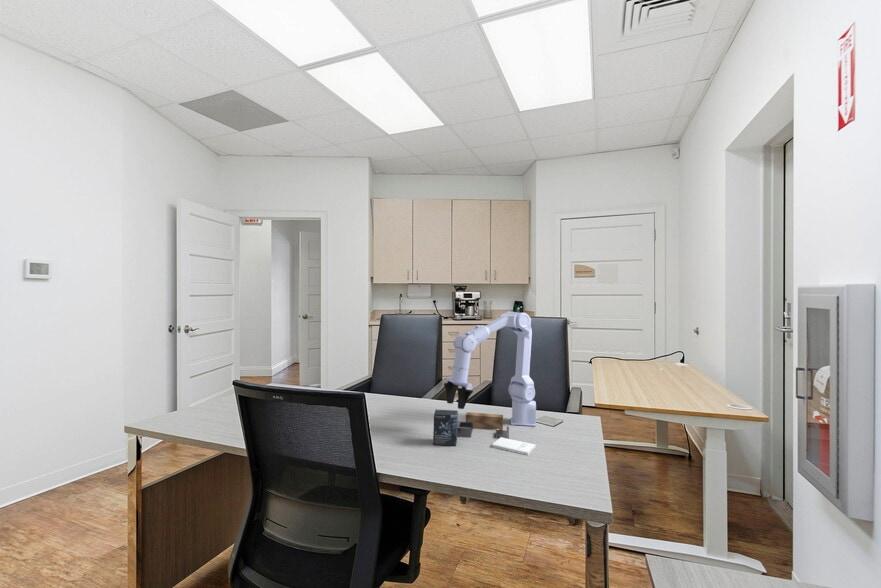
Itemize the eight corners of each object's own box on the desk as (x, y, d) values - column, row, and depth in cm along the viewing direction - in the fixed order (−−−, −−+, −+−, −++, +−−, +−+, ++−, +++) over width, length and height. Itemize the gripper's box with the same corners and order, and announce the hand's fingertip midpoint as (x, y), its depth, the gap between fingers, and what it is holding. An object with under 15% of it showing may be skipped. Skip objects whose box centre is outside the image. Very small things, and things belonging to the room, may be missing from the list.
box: (433, 445, 138) (433, 413, 138) (434, 439, 144) (435, 409, 144) (456, 446, 137) (457, 414, 137) (457, 440, 143) (457, 410, 143)
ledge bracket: (508, 433, 151) (508, 426, 151) (508, 439, 145) (508, 432, 145) (496, 432, 152) (496, 425, 152) (495, 438, 146) (495, 431, 146)
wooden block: (502, 427, 158) (503, 414, 158) (502, 430, 154) (502, 417, 154) (466, 425, 160) (466, 412, 160) (465, 427, 157) (465, 414, 157)
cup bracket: (472, 430, 154) (472, 422, 154) (470, 437, 147) (471, 428, 146) (458, 429, 155) (458, 421, 155) (455, 435, 147) (455, 427, 147)
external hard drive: (501, 441, 145) (535, 448, 138) (491, 448, 137) (527, 457, 131) (501, 436, 145) (536, 443, 138) (491, 444, 137) (528, 451, 131)
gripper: (441, 363, 154) (436, 400, 153) (462, 370, 141) (456, 410, 140) (457, 365, 157) (452, 401, 156) (479, 372, 144) (473, 411, 143)
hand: (455, 405), depth 148 cm, fingers open, 7 cm apart
